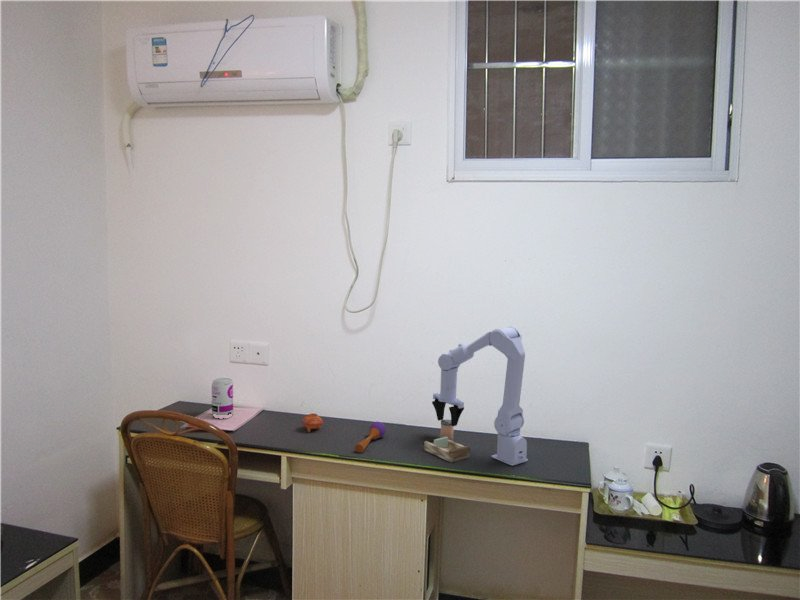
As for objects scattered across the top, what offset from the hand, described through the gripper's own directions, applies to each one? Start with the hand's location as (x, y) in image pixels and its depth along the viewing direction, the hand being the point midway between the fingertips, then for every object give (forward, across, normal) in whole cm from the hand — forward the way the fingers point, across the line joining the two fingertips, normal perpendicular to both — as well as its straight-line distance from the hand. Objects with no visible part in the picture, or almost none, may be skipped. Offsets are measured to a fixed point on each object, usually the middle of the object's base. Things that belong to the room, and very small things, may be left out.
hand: (447, 422), depth 212 cm
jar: (+7, 0, 0) cm, 7 cm away
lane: (+7, +10, -9) cm, 15 cm away
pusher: (+5, +7, -9) cm, 13 cm away
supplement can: (+7, -71, -57) cm, 91 cm away
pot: (+7, -37, -35) cm, 51 cm away
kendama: (+7, -13, -25) cm, 29 cm away
